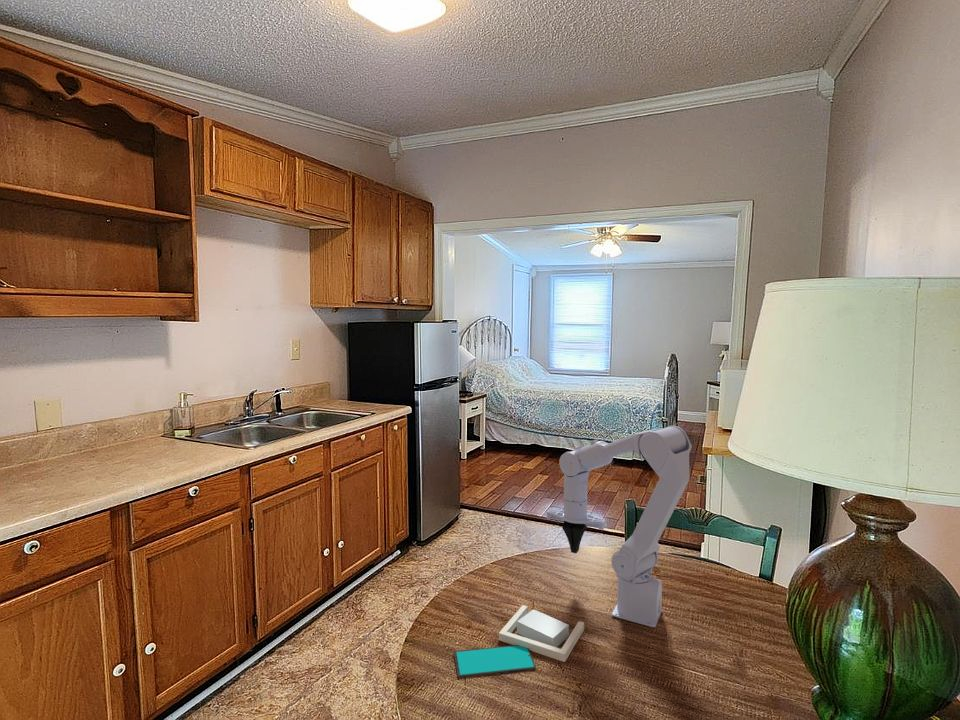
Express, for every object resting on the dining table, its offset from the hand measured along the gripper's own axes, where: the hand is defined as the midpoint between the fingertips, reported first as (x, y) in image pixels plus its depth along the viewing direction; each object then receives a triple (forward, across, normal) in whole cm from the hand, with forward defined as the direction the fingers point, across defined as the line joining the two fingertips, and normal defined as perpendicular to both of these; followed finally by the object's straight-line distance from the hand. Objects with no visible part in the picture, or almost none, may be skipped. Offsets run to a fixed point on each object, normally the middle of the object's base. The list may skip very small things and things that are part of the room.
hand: (574, 551), depth 132 cm
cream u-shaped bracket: (+8, -1, +23) cm, 25 cm away
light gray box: (+9, -1, +24) cm, 25 cm away
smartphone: (+9, +4, +36) cm, 37 cm away
